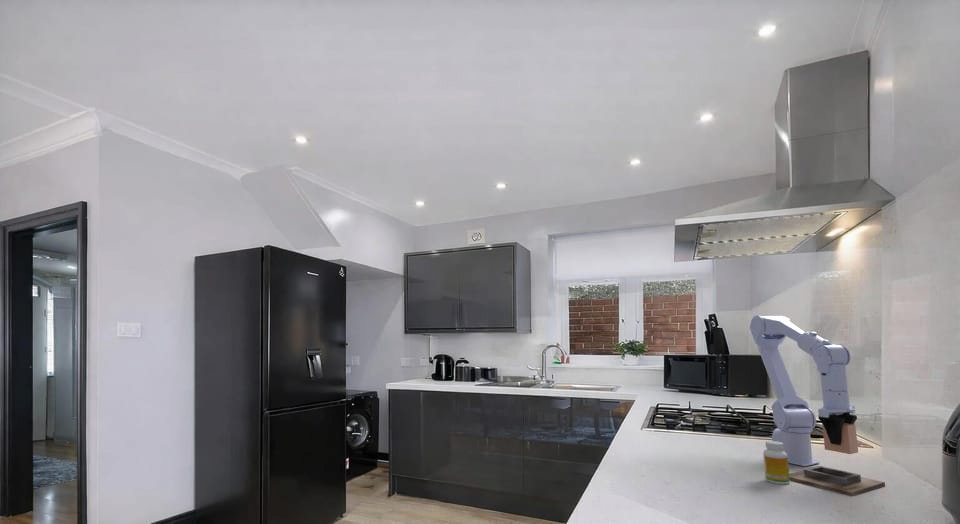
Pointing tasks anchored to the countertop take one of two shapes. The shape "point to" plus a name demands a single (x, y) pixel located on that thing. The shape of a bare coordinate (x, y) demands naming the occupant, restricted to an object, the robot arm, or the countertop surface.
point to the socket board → (835, 480)
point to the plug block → (843, 440)
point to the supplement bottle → (776, 463)
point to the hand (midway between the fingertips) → (840, 443)
